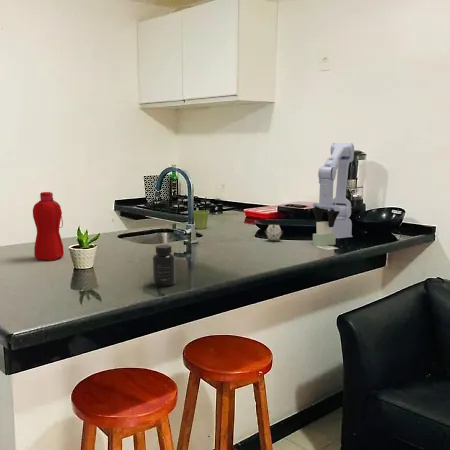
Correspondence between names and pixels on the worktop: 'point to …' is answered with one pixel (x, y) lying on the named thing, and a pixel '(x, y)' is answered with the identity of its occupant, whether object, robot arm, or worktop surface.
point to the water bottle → (47, 228)
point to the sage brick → (323, 239)
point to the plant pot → (201, 219)
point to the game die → (273, 232)
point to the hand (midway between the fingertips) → (324, 225)
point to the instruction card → (327, 247)
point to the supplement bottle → (163, 266)
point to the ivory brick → (323, 228)
